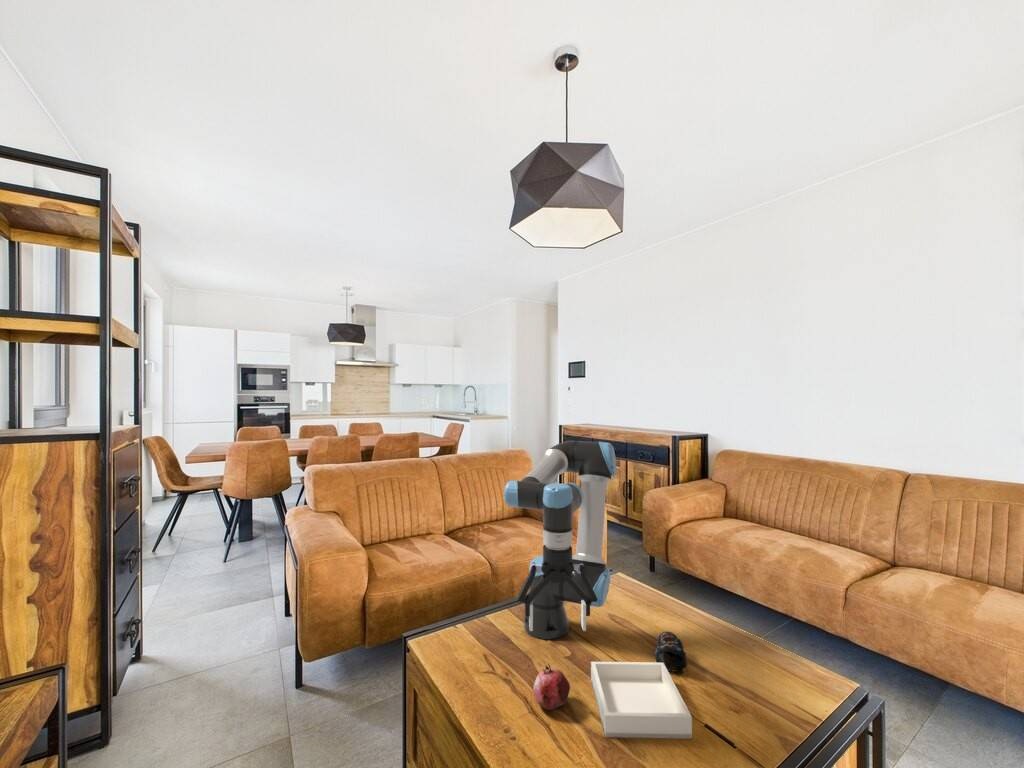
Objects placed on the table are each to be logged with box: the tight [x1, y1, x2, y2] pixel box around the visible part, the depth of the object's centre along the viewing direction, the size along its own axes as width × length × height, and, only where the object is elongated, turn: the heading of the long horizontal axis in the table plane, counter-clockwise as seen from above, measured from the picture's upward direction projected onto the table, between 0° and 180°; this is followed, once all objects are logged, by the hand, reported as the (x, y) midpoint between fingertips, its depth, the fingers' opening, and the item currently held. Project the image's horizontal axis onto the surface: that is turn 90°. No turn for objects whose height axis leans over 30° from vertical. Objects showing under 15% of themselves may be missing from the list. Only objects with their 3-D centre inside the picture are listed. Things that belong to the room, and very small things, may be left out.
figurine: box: [654, 630, 688, 674], centre depth 129 cm, size 9×8×15 cm
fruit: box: [532, 663, 571, 711], centre depth 112 cm, size 9×10×10 cm
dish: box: [590, 661, 693, 740], centre depth 111 cm, size 20×20×5 cm
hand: (557, 628), depth 112 cm, fingers open, 13 cm apart
